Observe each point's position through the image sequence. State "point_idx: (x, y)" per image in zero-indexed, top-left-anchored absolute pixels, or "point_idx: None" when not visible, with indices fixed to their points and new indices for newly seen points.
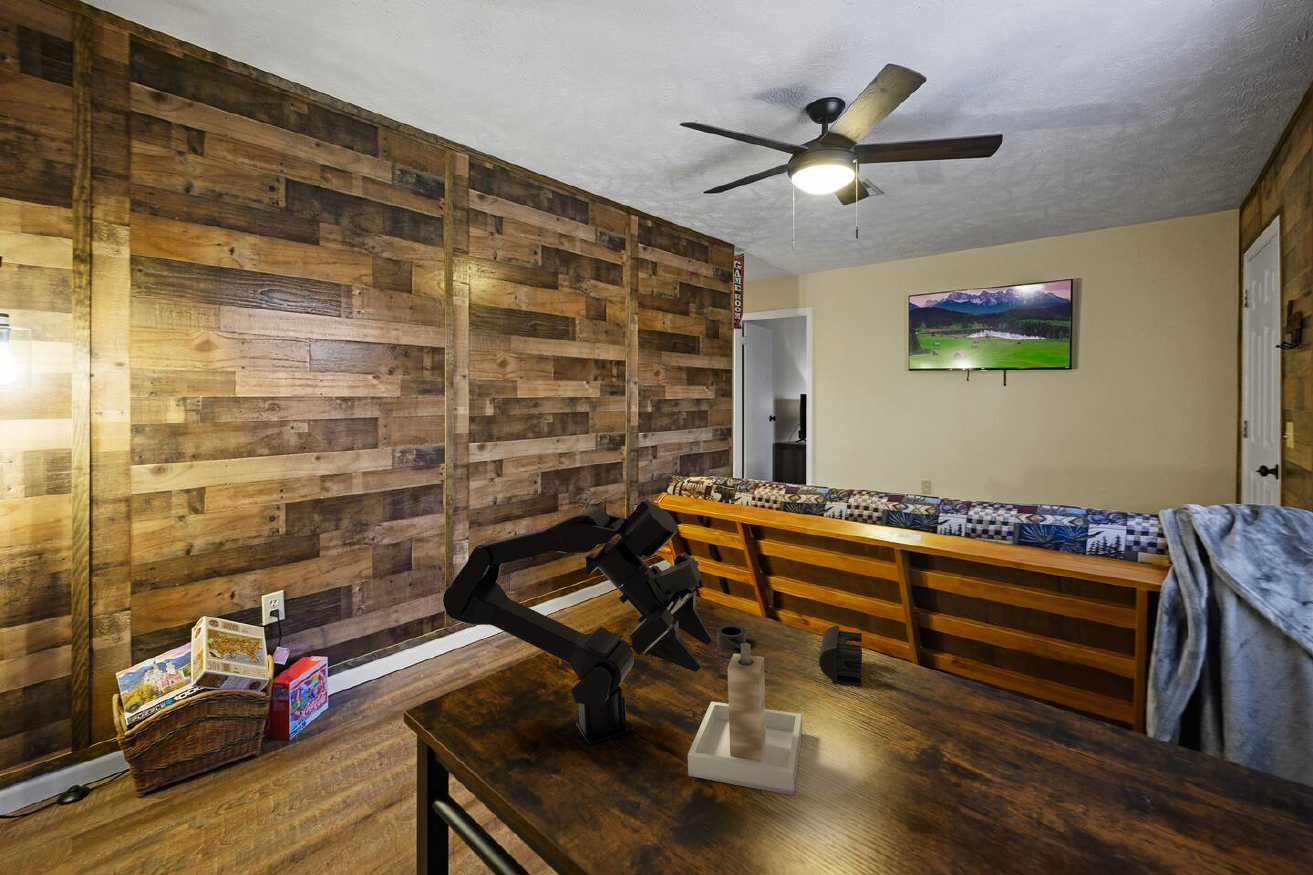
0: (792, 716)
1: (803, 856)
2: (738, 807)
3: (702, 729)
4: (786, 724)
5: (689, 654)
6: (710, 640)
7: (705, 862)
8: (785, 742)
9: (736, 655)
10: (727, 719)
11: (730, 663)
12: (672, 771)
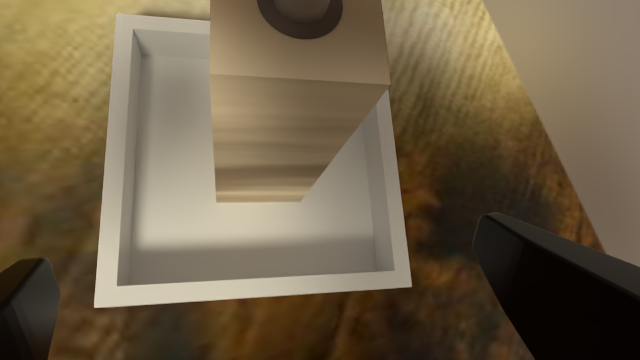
0: (133, 38)
1: (489, 47)
2: (435, 158)
3: (282, 283)
4: (137, 70)
5: (616, 258)
6: (47, 264)
7: (568, 187)
8: (200, 79)
9: (234, 56)
10: (129, 246)
11: (345, 75)
12: (387, 334)
